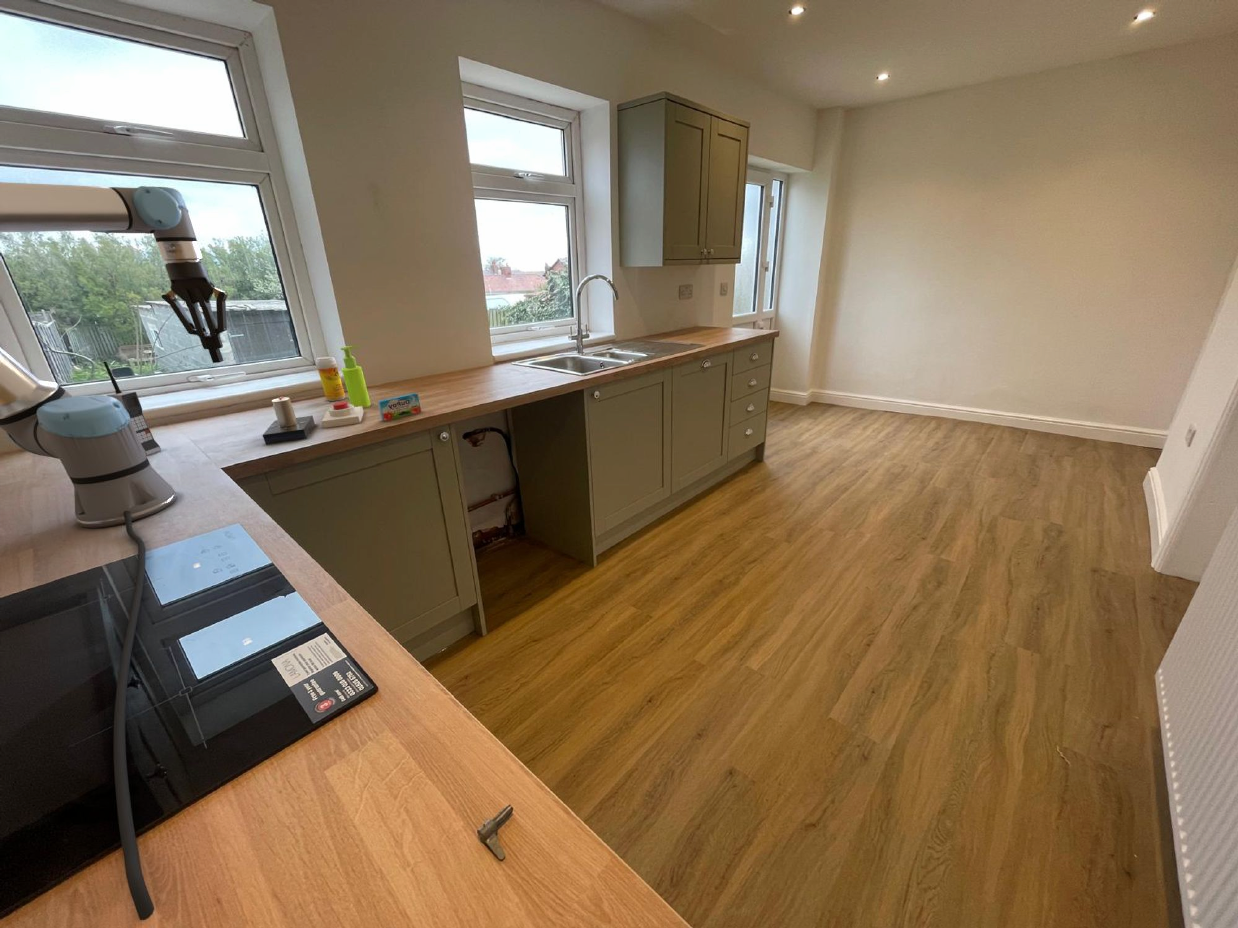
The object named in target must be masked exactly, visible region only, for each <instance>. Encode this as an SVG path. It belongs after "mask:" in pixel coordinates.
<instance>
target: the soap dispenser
mask: <svg viewBox="0 0 1238 928" xmlns="http://www.w3.org/2000/svg"><path fill="white" fill-rule="evenodd" d="M359 348H360V346H359V345H348V346H347V345H346V346H343V347H341V348H340V350H341V351H344V357H342V359H343V363H344V367H343V368H342V369H341V373H342V376H343V380H344V384H345V388H346V391H347V394H348V395H347V396H348V398H349V402H350V405H354V407H359V406H362V408H363V409H365V408H368V407H370V406H371V405H372V404H371V400H370V397H369V392H368V388H367V384H366V379H365V376H364V372H363V369H362V366H360V365H357V361H356V357H355V356H353V355H352V353H351V349H352V350H353V349H359Z"/></svg>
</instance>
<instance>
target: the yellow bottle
mask: <svg viewBox="0 0 1238 928" xmlns="http://www.w3.org/2000/svg"><path fill="white" fill-rule="evenodd" d="M315 365H316V367H317V371H318V375H319V378H320V381H321V386H322V389H323V392H324V395H325V399H326V400H328V402H338V401H342V400H344V399H345V397H346V393H345V389H344V386H343V382H342V379H341V375H340V371H339V367H338V364H337V361H336V358H335V357H334V356H333V355H326V356H320V357H316V360H315Z"/></svg>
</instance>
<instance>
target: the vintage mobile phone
mask: <svg viewBox="0 0 1238 928" xmlns="http://www.w3.org/2000/svg"><path fill="white" fill-rule="evenodd" d="M102 363H103V365H104V367H105V369H106V372H107V374H108V376H109V378H110V381H111V385H112V387H113V388H114V390H115V392H113V393H109V394H106V396H109V397H113V398H115V399H117V400H119V401H120V402H121V403H122V404H123V406H124V408H125V410H126V411H127V412H128V413H129V415H130V420H131V422H132V424H133V427H134V429H135V431H136V433H137V436H138V438H139V440H140V442H141V445H142V447H143V449H144V451H145V454H146V456H150V455H153V454H156V453H158V452H161V451H162V448H161V446H160V445H159V443H158V442H157V441H156V440H155V437H154V436H153V433H152V431H151V429H150V426H149V425H148V422H147V420H146V417H145V415H144V413H143V407H142V404H141V402H140V399H139V395H138V394H137V392H136V391H129V390H128V391H122V390H121V389H120V387H119V384H118V382H117V379H115V377H114V375H113V372H112V371H111V369H110V366H109V364H108V362H107V361H103V362H102Z"/></svg>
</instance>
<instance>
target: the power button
mask: <svg viewBox="0 0 1238 928" xmlns="http://www.w3.org/2000/svg"><path fill="white" fill-rule="evenodd" d="M348 405H349V403H348V402H347V401H339V402H338V401H337V402H335V403H332V407H334V410H342V409H346V408H349V407H348Z"/></svg>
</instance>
